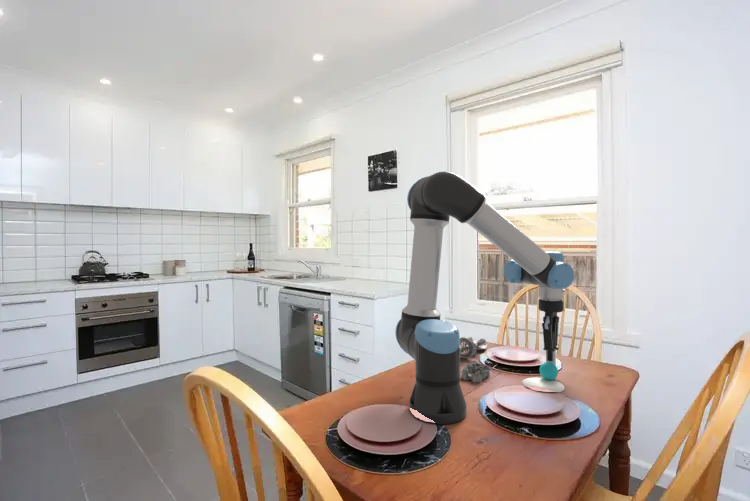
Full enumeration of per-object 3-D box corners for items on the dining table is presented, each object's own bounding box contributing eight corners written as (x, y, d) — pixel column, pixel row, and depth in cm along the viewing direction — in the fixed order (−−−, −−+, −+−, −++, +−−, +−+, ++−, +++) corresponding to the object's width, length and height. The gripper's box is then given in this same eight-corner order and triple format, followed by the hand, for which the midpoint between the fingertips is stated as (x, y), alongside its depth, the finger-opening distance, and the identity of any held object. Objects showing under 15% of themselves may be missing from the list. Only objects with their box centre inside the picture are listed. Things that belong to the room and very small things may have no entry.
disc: (559, 396, 111) (559, 395, 111) (517, 386, 119) (517, 386, 119) (568, 383, 121) (568, 383, 121) (528, 375, 128) (528, 374, 128)
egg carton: (478, 384, 122) (478, 372, 121) (458, 378, 127) (457, 366, 126) (493, 375, 129) (493, 364, 129) (474, 370, 134) (474, 359, 134)
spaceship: (427, 344, 137) (445, 339, 133) (474, 335, 163) (491, 331, 158) (433, 367, 135) (451, 363, 130) (480, 354, 161) (497, 350, 156)
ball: (556, 385, 122) (554, 375, 120) (538, 380, 126) (536, 370, 123) (560, 371, 126) (558, 360, 123) (543, 367, 129) (540, 357, 126)
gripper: (558, 303, 119) (558, 378, 120) (567, 296, 129) (567, 366, 130) (533, 300, 123) (533, 373, 124) (543, 294, 133) (543, 361, 135)
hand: (550, 369), depth 127 cm, fingers closed
